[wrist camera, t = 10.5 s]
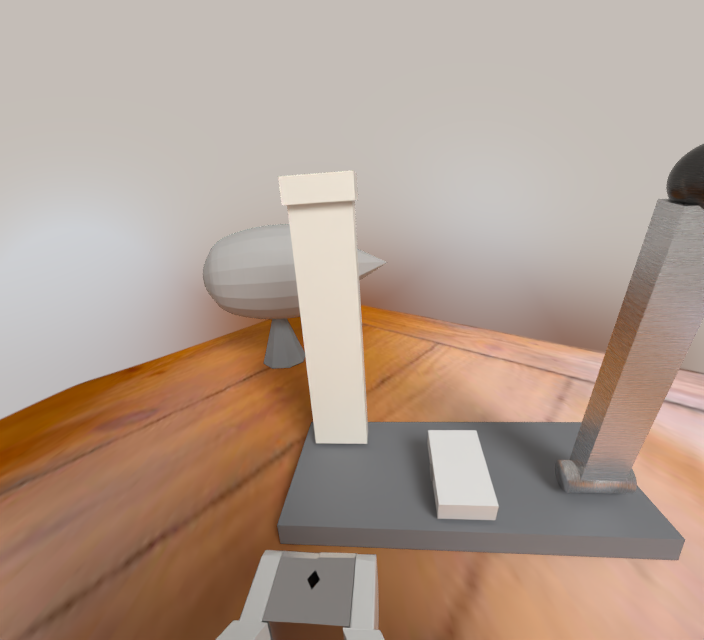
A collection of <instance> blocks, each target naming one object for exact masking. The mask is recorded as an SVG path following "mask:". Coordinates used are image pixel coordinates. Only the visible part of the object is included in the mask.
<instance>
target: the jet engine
mask: <svg viewBox="0 0 704 640" xmlns="http://www.w3.org/2000/svg"><path fill="white" fill-rule="evenodd" d="M357 251H358V268H359V281H360V280H361V279H363V278H364V277H366V276H367V275H369V274H370V273H372V272H373V271H375V270H376V269H378V268H379V267H381V266H383V265H384V264H386V263H387V262H385V261H383V260H381V259H379V258H377V257H374V256H372V255H370V254H368V253H366V252H363V251H361V250H359V249H357ZM203 280H204V284H205V287H206V289H207V291H208V292H209V294H210V295H211V297H212V298H213V299H214V300H215V301H216V303H217V304H218V305H219V306H220V307H221V308H222V309H224V310H225V311H227V312H229V313H232V314H235V315H239V316H243V317H250V318H258V319H272V324H271V329H270V334H269V339H268V344H267V349H266V354H265V359H264V364H265V365H267V366H269V367H271V368H289V367H292V366H294V365H297V364H299V363H301V362H303V361H304V358H305V352H304V351H303V349H302V347H301V345H300V343H299V341H298V339H297V337H296V335H295V333H294V331H293V329H292V328H291V326H290V324H289V322H288V320H287V318H294V317H301V316H300V307H299V299H298V291H297V282H296V274H295V266H294V258H293V249H292V241H291V233H290V224H280V225H268V226H261V227H256V228H251V229H247V230H243V231H240V232H237V233H234V234H231V235H229V236H226V237H224V238H222V239H221V240H219V241H218V242H217V243H216V244H215V245H214V246H213V247H212V248H211V250H210V252H209V255H208V257H207V259H206V261H205V264H204V267H203Z"/></svg>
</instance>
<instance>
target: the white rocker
mask: <svg viewBox="0 0 704 640" xmlns="http://www.w3.org/2000/svg"><path fill="white" fill-rule="evenodd" d="M427 444H428V452H429V459H430V478H431V481H433V488H434V496H435V503H436V510H437V518H438V519H468V520H496V516H497V511H498V507H499V505H498V502H497V499H496V495H495V492H494V488H493V485H492V482H491V478H490V475H489V472H488V468H487V465H486V461H485V458H484V455H483V451H482V448H481V445H480V441H479V438H478V435H477V431H476V430H428V441H427Z"/></svg>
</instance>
